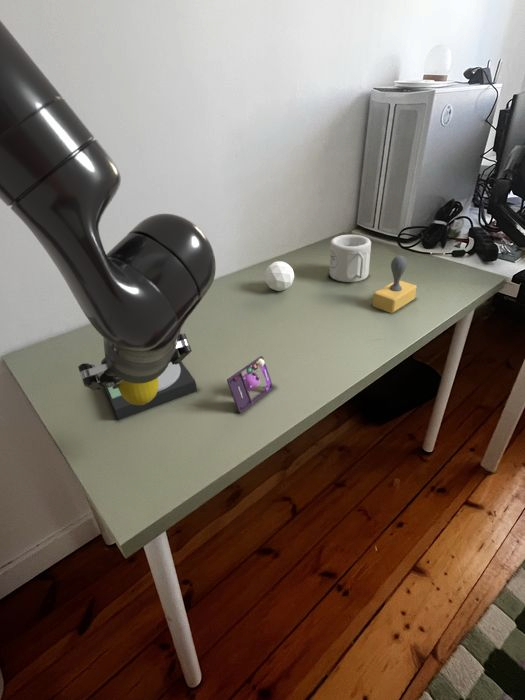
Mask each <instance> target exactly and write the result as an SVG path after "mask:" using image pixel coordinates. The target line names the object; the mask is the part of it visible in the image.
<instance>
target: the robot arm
mask: <svg viewBox="0 0 525 700" xmlns="http://www.w3.org/2000/svg"><path fill="white" fill-rule="evenodd" d="M121 176H122V175H121V172H120V169H119V168H118V166H117V164H116V162H115V161H114V159H113V158H112V157H111V155H110V154H109V153H108V152H107V150H106V149H105V148H104V147H103V145H102V144H101V143H100V142H99V140H98V139H95V135H94V134H93V133H92V132H91V130H90V129H89V128H88V127H87V125H86V124H85V123H84V122H83V120H82V119H81V118H80V117H79V115H78V114H77V113H76V112H75V111H74V109H73V108H72V107H71V105H70V104H69V103H68V102H67V100H66V99H64V96H63V95H62V94H61V93H60V92H59V91H58V89H57V88H56V87H55V86H54V84H53V83H52V82H51V81H50V80H49V78H48V77H47V76H46V75H45V73H44V72H43V71H42V70H41V68H40V67H39V66H38V65H37V64H36V62H35V61H34V60H33V58H32V57H30V55H29V54H28V52H27V51H26V50H25V49H24V48H23V46H22V45H21V44H20V43H19V42H18V40H17V39H16V38H15V37H14V35H13V34H12V33H11V32H10V30H9V29H8V28H7V27H6V26H5V24H4V23H3V22H2V20H0V200H1V201H2V202H3V203H4V204H5V205H6V206H7V207H10V210H11V211H12V212H13V213H14V214H15V215H16V216H17V217H18V218H19V219H20V220H21V222H23V223H24V225H25V226H26V227H27V228H28V229H29V231H30V232H31V233H32V235H34V237H35V238H36V239H37V241H38V242H39V243H40V245H41V246H42V248H43V249H44V250H45V252H46V253H47V255H48V256H49V258H50V259H51V261H52V262H53V263H54V265H55V267H56V269H58V271H59V273H60V275H61V277H62V278H63V279H64V281H65V283H66V285H67V286H68V288H69V290H70V292H71V293H72V295H73V298H74V299H75V301H76V302H77V305H78V306H79V307H80V309H81V311H82V312H83V314H84V316H85V317H86V319H87V321H89V323H90V325H92V327H93V328H94V329H95V331H96V332H98V334H100V336H101V337H102V338H103V351H104V357H103V358H102V359H101V362H100V364H99V365H95V364H94V363H91V364H90V363H87V362H86V363H81V364H80V365H78V366H77V368H78V372H79V374H80V377H81V380H82V382H83V385H84V386H85V388H88V389H90V390H92V391H100V390H102V389H103V388H104V384H106V385H107V387H108V388H110V387H113V389H116V388H118V384H120V383H124V382H130V383H138V384H139V383H146V382H150V381H152V380H154V379H156V378H158V377H159V376H160V375H161V374H162V373H163V372H164V371H165V370H166V368H167V367H168V364H169V363H170V362H172V364H173V365H174V364H175V365H176V364H179V362H182V361H183V360H184V359H185V358H186V357H187V356H188V355H189V354H190V353H191V352H192V351H193V350H192V348H191V345H190V342H189V340H188V337H187V335H186V333H181V331H182V328H183V326H184V324H185V323H186V321H187V320H188V319H189V317H190V315H191V314H192V313H193V312H194V310H196V308H197V307H198V305H199V304H200V302H201V301H202V300H203V298H204V297H205V296H206V294H207V293H208V291H209V290H210V288H211V286H213V283H214V280H215V277H216V270H217V264H216V257H215V253H214V249H213V247H212V245H211V243H210V242H211V241H210V240H209V239H208V237H207V236H206V234H205V233H204V232H203V231H202V229H200V227H198V226H197V224H195V223H194V222H192V220H190V219H188V218H186V217H183V216H181V215H177V214H174V213H157V214H153V215H149V216H148V217H146V218H145V219H143V220H141V221H140V222H139V223H137V224H136V225H135V226H134V227H133V228H132V229H131V230H130V231H129V232H128V233H127V234H126V235H124V237H123V238H122V239H121V240H119V242H117V243H116V244H115V245H114V247H112V248H111V249H110V250H109V251H108V252H107V253H106V251H105V248H104V245H103V242H102V238H101V235H100V223H101V220H102V218H103V215H104V213H105V211H106V210H107V208H108V207H109V206H110V204H111V202H112V201H113V199H114V198H115V196H116V195H117V193H118V191H119V189H120V188H121V187H120V186H121V182H122V181H121V180H122V177H121Z"/></svg>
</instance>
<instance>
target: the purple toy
mask: <svg viewBox="0 0 525 700" xmlns="http://www.w3.org/2000/svg"><path fill="white" fill-rule="evenodd" d="M259 368H260V370H261V372H262V374H263V377H264V380H265V382H266V383H265V384H266V386H265V390H263V391H262V392H261V393H260V394H259V395H257V396H256V397H254V398H253V399H252V398H251V395H250V392H251V391H253V390H254V389H256V388H257V387H258V385H260V384H261V381H260V379H261V378H262V375H261V376H258V375H257V373H258V369H259ZM244 371H246V373H244V375H243V372H244ZM253 371H254V372H253ZM226 382H227V385H228V387H229V390H230V393H231V396H232V398H233V401H234V403H235V406H236V409H237V412H238V413H241V414H242V413H243V412H245V410H247V409H248V408H250V407H251V406H252V405H253V404H254V403H256V402H257V401H258V400H260V399H261V398H262V397H264V396H265V395H266V394H267V393H269V392H270V391H272V389H273V388H274V385H273V382H272V379H271V376H270V374H269V370H268V367H267V365H266V362H265V358H264V356H262V355H260V356H259V357H257V358H256V359H254V360H253V361H251V362H250V363H248V364H247V365H246V366H244V367H243V368H241V369H240V370H238V371H237V372H235V373H234V374H233V375H231V376H230V377H228V378H227V379H226Z"/></svg>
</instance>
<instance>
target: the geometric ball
mask: <svg viewBox="0 0 525 700" xmlns="http://www.w3.org/2000/svg"><path fill="white" fill-rule="evenodd" d="M294 279H295V273H294V270H293V268H292V266H291V265H289V264H288V263H287V262H285V261H283V260H282V261H281V260H280V261H277V260H276V261H273V262H272V263H271V264H270V265H268V266H267V267H266V270H265V273H264V280H265V283H266V284H267V286H268V287H269V288H270V289H272V290H274V291H277V292H282V291H285V290H288V288H290V287H291V286H292V285H293V282H294Z"/></svg>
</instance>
